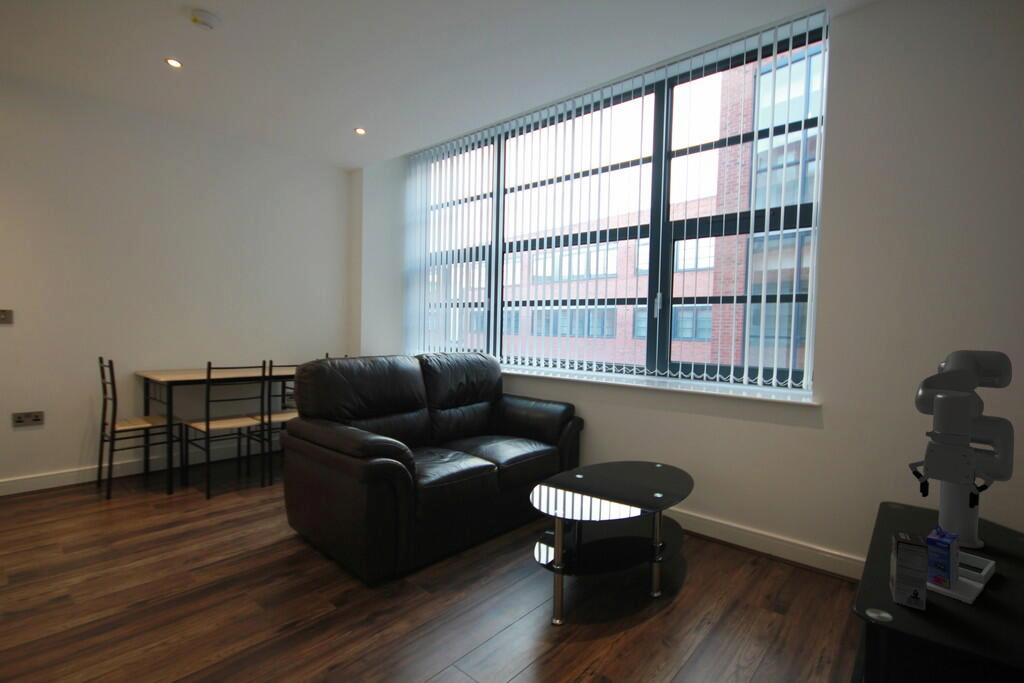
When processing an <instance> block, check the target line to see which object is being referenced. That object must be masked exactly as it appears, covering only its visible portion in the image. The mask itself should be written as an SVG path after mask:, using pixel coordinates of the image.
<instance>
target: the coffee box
mask: <svg viewBox="0 0 1024 683" xmlns="http://www.w3.org/2000/svg"><path fill="white" fill-rule="evenodd" d="M928 551H929V547H928V545H927V543H926V538H925V536H924V535H923V533H920V532H912V531H907V530H900V529H895V528H892V529H891V547H890V571H889V588H890V593H891V596H892V600H893V603H894V602H895V604H897V603H899V604H898V605H901V604H902V606H905V605H906V607H910V608H914V609H917V610H920V611H921V610H922V611H927V610H926V608H927V607H926V603H927V602H926V601H927V589H926V588H927V569H928Z"/></svg>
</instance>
